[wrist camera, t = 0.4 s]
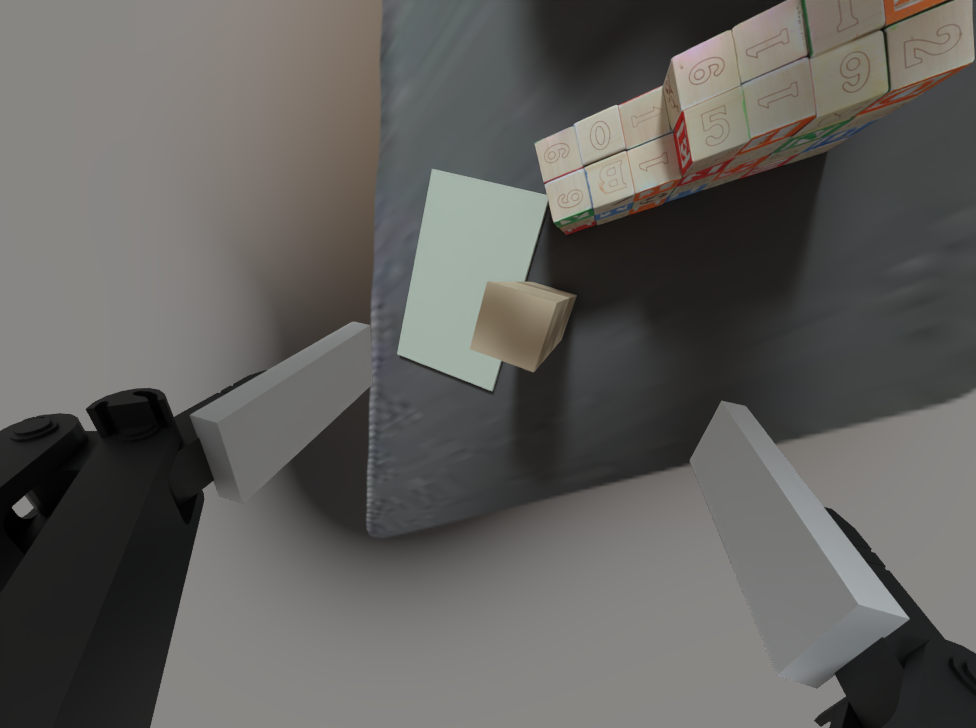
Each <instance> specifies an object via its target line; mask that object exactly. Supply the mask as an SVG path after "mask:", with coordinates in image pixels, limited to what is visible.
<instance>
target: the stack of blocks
mask: <svg viewBox="0 0 976 728" xmlns="http://www.w3.org/2000/svg"><path fill="white" fill-rule="evenodd" d="M974 58H975V57H974V40H973V20H972V0H786V1H784V2H782V3H780V4H778V5H776V6H774V7H772V8H770V9H768V10H766V11H764V12H762V13H760V14H758V15H756V16H754V17H752V18H750V19H748V20H746V21H744V22H742V23H739V24H738V25H736V26H735V27H734V28H733V29H731V30H728V31H725V32H723V33H721V34H719V35H717V36H715V37H713V38H711V39H709V40H707V41H705V42H703V43H701V44H699V45H696V46H694V47H692V48H690V49H688V50H686V51H684V52H682V53H681V54H678V55H676V56H674V57H673V58H672V59H671V62H670V65H669V68H668V71H667V74H666V78H665V81H664V84H663V86H660V87H658V88H656V89H653V90H651V91H649V92H647V93H644V94H642V95H640V96H638V97H636V98H633V99H631V100H629V101H627V102H624V103H622V104H620V105H615V106H612V107H610V108H608V109H606V110H603V111H601V112H599V113H597V114H594V115H592V116H590V117H588V118H586V119H583V120H581V121H579V122H577V123H575V124H574V126H572V127H569V128H567V129H564V130H562V131H560V132H558V133H556V134H553V135H551V136H549V137H547V138H544V139H542V140H540V141H538V142H536V143H535V147H536V152H537V156H538V160H539V164H540V169H541V173H542V178H543V182H544V184H545V188H546V193H547V197H548V201H549V206H550V210H551V214H552V219H553V222H554V224H555V225H556V226H557V227H558V228H560V229H561V230H562V231H563V232H564V233H565V234H566V235H568V234H571V233H574V232H577V231H580V230H583V229H585V228H589V227H591V226H594V225H600V224H603V223H607V222H610V221H613V220H616V219H619V218H622V217H625V216H627V215H631V214H634V213H638V212H641V211H644V210H647V209H650V208H653V207H656V206H659V205H662V204H663V203H666V202H669V201H672V200H675V199H678V198H681V197H684V196H687V195H691V194H694V193H697V192H699V191H702V190H705V189H708V188H711V187H714V186H717V185H721V184H724V183H727V182H730V181H733V180H736V179H742V178H745V177H748V176H751V175H754V174H757V173H760V172H763V171H767V170H770V169H773V168H776V167H779V166H782V165H786V164H789V163H793V162H796V161H799V160H802V159H805V158H808V157H812V156H815V155H818V154H821V153H824V152H827V151H829V150H830V149H832V148H833V147H835V146H836V145H838V144H840V143H842V142H843V141H845V140H847V139H848V138H850V137H851V136H852V135H853V134H855V133H857V132H859V131H860V130H862V129H863V128H865V127H867V126H868V125H870V124H872V123H873V122H875V121H877V120H879V119H880V118H882V117H885V116H887V115H888V114H890V113H891V112H893V111H895V110H897V109H898V108H900V107H902V106H903V105H905V104H907V103H909V102H910V101H912V100H913V99H915V98H916V97H918V96H920V95H921V94H923V93H924V92H925V91H927V90H928V89H930V88H932V87H934V86H935V85H937V84H939V83H940V82H942V81H944V80H945V79H947V78H948V77H950V76H952V75H954V74H955V73H957V72H959V71H960V70H962V69H964V68H965V67H967V66H968V65H970V64H971V63H972V62H973V61H974Z"/></svg>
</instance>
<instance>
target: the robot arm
mask: <svg viewBox="0 0 976 728" xmlns="http://www.w3.org/2000/svg"><path fill="white" fill-rule="evenodd" d="M372 384H373V377H372V356H371V335H370V325H366V324H362V323H357V322H351V323H350V324H348V325H346V326H344V327H342V328H341V329H339V330H337V331H335V332H334V333H332V334H330V335H329V336H327V337H325V338H323V339H321V340H320V341H318V342H316V343H314V344H313V345H311V346H309V347H307V348H306V349H304V350H302V351H300V352H299V353H297V354H295V355H293V356H292V357H290V358H289V359H286V360H285V361H283V362H281V363H279V364H278V365H276V366H274V367H273V368H271V369H269V370H265V371H261V372H258V373H255V374H252V375H249V376H247V377H245V378H243V379H242V380H240V381H238V382H236V383H234V384H233V386H229V387H227V388H225V389H223V390H222V391H221V393H216V394H214V395H213V396H211V397H209V398H207V399H206V400H204V401H202V402H200V403H198V404H196V405H195V406H193V407H191V408H189V409H188V410H186V411H184V412H182V413H180V414H178V415H177V416H175V417H173V414H172V411H171V409H170V406H169V404H168V401H167V399H166V396H165V394H164V393H163V392H161V391H160V390H156V389H151V388H141V389H132V390H126V391H121V392H118V393H115V394H112V395H108V396H106V397H104V398H102V399H99V400H97V401H95V402H94V403H92V404H91V405H90V406H89V407H88V408H87V409H86V411H87V413H88V414H89V416H90V418H91V420H92V422H93V424H94V426H95V427H96V429H97V431H85V430H84V429H83V427H82V425H81V423H80V421H79V419H78V418H77V417H75V416H73V415H71V414H61V413H59V414H50V415H42V416H37V417H32V418H28V419H25V420H23V421H22V422H19V423H16V424H13V425H11V426H9V427H7V428H5V429H3V430H1V431H0V728H150V725H151V721H152V717H153V713H154V709H155V704H156V700H157V696H158V692H159V688H160V683H161V679H162V675H163V671H164V667H165V663H166V658H167V654H168V650H169V645H170V642H171V637H172V633H173V629H174V625H175V620H176V616H177V612H178V608H179V604H180V599H181V595H182V591H183V587H184V583H185V579H186V575H187V570H188V566H189V562H190V558H191V554H192V549H193V545H194V541H195V537H196V533H197V528H198V524H199V520H200V516H201V511H202V507H203V503H204V493H203V491H202V489H203V488H205V487H206V486H207V485H208V484H210V483H211V482H212V481H214V484H215V486H216V489H217V492H218V494H219V496H220V497H223V498H226V499H229V500H233V501H236V502H239V503H242V504H243V503H245V502H246V501H247V500H248V499H249V498H250V497H251V496H252V495H253V494H254V493H255V492H257V491H258V490H259V489H260V488H261V487H262V486H263V485H264V484H265V483H266V482H267V481H268V480H269V479H271V478H272V477H273V476H274V475H275V474H276V473H277V472H278V471H279V470H280V469H281V468H283V467H284V466H285V465H286V464H287V463H288V462H289V461H290V460H291V459H292V458H293V457H294V456H295V455H297V454H298V453H299V452H300V451H301V450H302V449H303V448H304V447H305V446H306V445H307V444H308V443H309V442H311V441H312V439H314V438H315V437H316V436H317V435H318V434H319V433H320V432H321V431H322V430H323V429H324V428H326V427H327V426H328V425H329V424H330V423H331V422H332V421H333V420H334V419H335V418H336V417H338V416H339V414H341V413H342V412H343V411H344V410H345V409H346V408H347V407H348V406H349V405H350V404H351V403H353V402H354V401H355V400H356V399H357V398H358V397H359V396H360V395H361V394H362V393H363V392H364V391H365V390H367V389H368V388H369V387H370V386H371V385H372ZM690 463H691V466H692V468H693V471H694V473H695V475H696V478H697V480H698V483H699V485H700V488H701V490H702V493H703V495H704V498H705V500H706V503H707V505H708V508H709V510H710V512H711V515H712V517H713V520H714V522H715V525H716V527H717V530H718V532H719V535H720V537H721V540H722V542H723V545H724V547H725V549H726V552H727V554H728V557H729V559H730V562H731V564H732V567H733V569H734V572H735V574H736V577H737V579H738V581H739V584H740V587H741V589H742V592H743V594H744V596H745V599H746V601H747V604H748V606H749V609H750V611H751V614H752V616H753V619H754V621H755V624H756V626H757V629H758V631H759V633H760V636H761V638H762V640H763V643H764V646H765V648H766V651H767V653H768V656H769V658H770V661H771V663H772V666H773V668H774V670H775V673H776V675H777V676H779V677H783V678H786V679H789V680H792V681H795V682H798V683H801V684H805V685H808V686H811V687H814V688H818V687H820V686H821V685H822V684H823V683H825V682H826V681H828V680H829V679H830V678H832V677H833V676H834V675H836V677H837V679H838V681H839V683H840V685H841V687H842V689H843V691H844V693H845V694H846V697H845V698H843V699H842V700H840V701H839V702H837V703H836V704H834V705H833V706H831V707H830V708H828V709H827V710H825V711H824V712H823V713H821V714H820V715H819V716H818V717H817V718H816V719H815V720H814V721H815V722H816V723H817V724H818V725H819V726H823V725H824V724H826V723H827V722H831V725H830V727H829V728H976V654H975V653H974V652H972V651H970V650H969V649H967V648H965V647H963V646H961V645H958V644H956V643H953V642H951V641H948V640H945V639H944V637H943V636H942V635H941V634H940V632H939V631H938V630H937V629H936V627H935V626H934V625H933V624H932V623H931V622H930V620H929V619H928V618H927V616H926V615H925V614H924V613H923V612H922V610H921V609H920V608H919V607H918V606H917V604H916V603H915V602H914V600H913V599H912V598H911V597H910V596H909V594H908V593H907V592H906V591H905V589H904V588H903V587H902V586H901V585H900V583H899V582H898V581H897V580H896V578H895V577H894V576H893V575H892V573H891V572H890V571H888V570H886V569H885V565H884V564H883V562H882V561H881V560H880V559H879V557H878V556H877V555H876V554H875V553H873V552H871V548H870V547H869V545H868V544H867V543H866V541H865V540H864V539H863V538H862V537H861V536H860V534H859V533H858V532H857V531H856V529H855V528H854V527H852V526H851V525H850V524H849V523H848V522H847V521H845V520H844V519H843V518H842V517H841V516H840V515H838V514H837V513H836V512H835V511H834V510H832V509H829V508H826V507H823V506H822V504H821V503H820V502H819V500H818V499H817V498H816V496H815V495H814V494H813V493H812V491H811V490H810V489H809V487H808V486H807V485H806V484H805V482H804V481H803V480H802V478H801V477H800V476H799V474H798V473H797V472H796V471H795V469H794V468H793V467H792V465H791V464H790V463H789V462H788V460H787V459H786V458H785V456H784V455H783V454H782V452H781V451H780V450H779V448H778V447H777V446H776V445H775V443H774V442H773V441H772V439H771V438H770V437H769V435H768V434H767V433H766V432H765V430H764V429H763V428H762V426H761V425H760V424H759V423H758V421H757V420H756V419H755V417H754V416H753V415H752V413H751V412H750V411H749V410H748V408H747V407H746V406H744V405H739V404H734V403H730V402H725V401H721V403H720V404H719V406H718V408H717V410H716V412H715V414H714V416H713V418H712V419H711V421H710V423H709V425H708V427H707V429H706V431H705V433H704V434H703V436H702V438H701V440H700V442H699V444H698V446H697V448H696V449H695V451H694V453H693V455H692V457H691V459H690ZM23 496H26V497H27V499H28V500H29V502H30V503H31V504H32V506H33V507H34V508H33V509H32V510H31V512H29V513H28V514H27V515H25V516H24V517H22V518H21V517H19V516H18V515H17V514H16V513H15V511H14V510H13V509H12V506H13V505H14V504H15V503H16V502H18V501H19V500H20V499H21V498H22V497H23Z"/></svg>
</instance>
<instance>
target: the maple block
mask: <svg viewBox="0 0 976 728" xmlns="http://www.w3.org/2000/svg"><path fill="white" fill-rule="evenodd" d="M576 297H577V295H575V294H572V293H569V292H565V291H562V290H559V289H555V288H552V287H548V286H545V285H542V284H538V283H535V282H493V281H487V284H486V288H485V292H484V296H483V299H482V303H481V307H480V311H479V315H478V319H477V323H476V326H475V330H474V334H473V338H472V342H471V346H470V349H471V350H474V351H477V352H479V353H482V354H485V355H487V356H490V357H493V358H496V359H498V360H501V361H504V362H507V363H509V364H512V365H515V366H518V367H520V368H523V369H526V370H529V371H531V372H535V371H536V369H537V368H538V367H539V366H540V365H541V363H542V362H543V361H544V360H545V359H546V358H547V356H548V355H549V354H550V353H551V352H552V351H553V349H554V348H555V347H556V346H557V345H558V343H559V342H560V341H561V340H562V338H563V335H564V332H565V329H566V326H567V323H568V320H569V317H570V314H571V312H572V309H573V306H574V303H575V300H576Z"/></svg>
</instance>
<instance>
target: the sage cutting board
mask: <svg viewBox="0 0 976 728" xmlns="http://www.w3.org/2000/svg"><path fill="white" fill-rule="evenodd" d="M548 204H549V201H548V197H547V195H544V194H540V193H535V192H531V191H527V190H522V189H518V188H514V187H509V186H505V185H501V184H496V183H492V182H487V181H483V180H479V179H474V178H470V177H466V176H461V175H457V174H453V173H448V172H444V171H439V170H435V169H432V173H431V178H430V184H429V189H428V194H427V199H426V205H425V210H424V215H423V220H422V226H421V231H420V236H419V242H418V247H417V252H416V257H415V263H414V268H413V273H412V278H411V284H410V289H409V294H408V300H407V305H406V310H405V315H404V321H403V326H402V331H401V336H400V342H399V347H398V352H397V354H398V355H401V356H403V357H406V358H408V359H411V360H413V361H416V362H419V363H421V364H424V365H426V366H429V367H431V368H434V369H436V370H439V371H441V372H444V373H447V374H449V375H452V376H454V377H457V378H459V379H462V380H464V381H467V382H470V383H472V384H475V385H477V386H480V387H482V388H485V389H487V390H490V391H493V390H494V387H495V384H496V380H497V377H498V374H499V370H500V367H501V363H502V361H501V360H498V359H496V358H493V357H490V356H487V355H485V354H482V353H479V352H477V351H474V350H471V349H470V346H471V342H472V338H473V334H474V330H475V326H476V323H477V319H478V315H479V311H480V307H481V303H482V299H483V296H484V292H485V288H486V284H487V281H493V282H526V278H527V275H528V272H529V268H530V265H531V261H532V258H533V255H534V251H535V248H536V244H537V241H538V238H539V234H540V231H541V227H542V224H543V221H544V217H545V214H546V210H547V207H548Z"/></svg>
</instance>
